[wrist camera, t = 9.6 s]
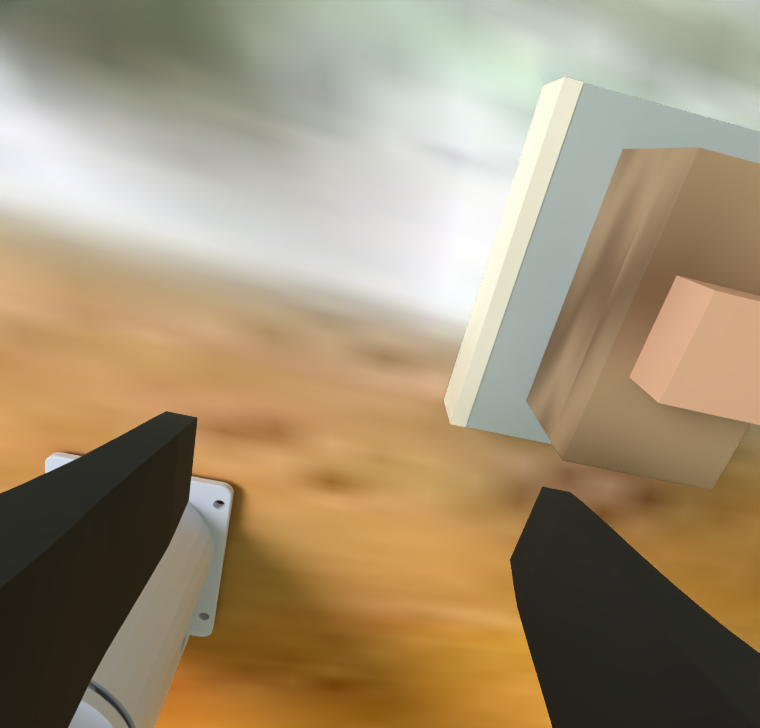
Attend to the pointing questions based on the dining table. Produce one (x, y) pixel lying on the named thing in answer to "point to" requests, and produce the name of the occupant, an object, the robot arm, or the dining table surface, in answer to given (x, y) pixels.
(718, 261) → the pallet
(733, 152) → the dock
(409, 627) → the dining table surface
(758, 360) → the tan square block
